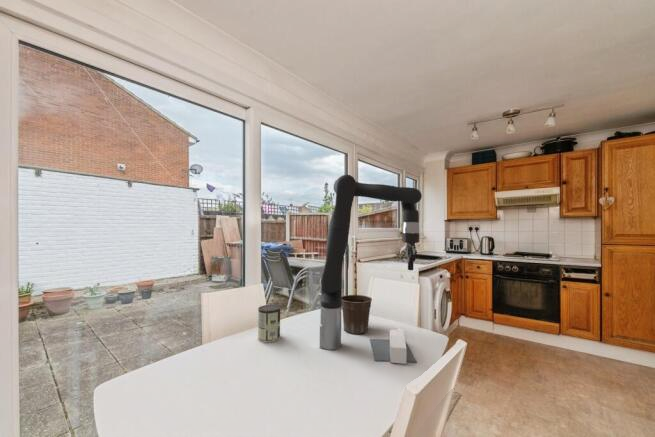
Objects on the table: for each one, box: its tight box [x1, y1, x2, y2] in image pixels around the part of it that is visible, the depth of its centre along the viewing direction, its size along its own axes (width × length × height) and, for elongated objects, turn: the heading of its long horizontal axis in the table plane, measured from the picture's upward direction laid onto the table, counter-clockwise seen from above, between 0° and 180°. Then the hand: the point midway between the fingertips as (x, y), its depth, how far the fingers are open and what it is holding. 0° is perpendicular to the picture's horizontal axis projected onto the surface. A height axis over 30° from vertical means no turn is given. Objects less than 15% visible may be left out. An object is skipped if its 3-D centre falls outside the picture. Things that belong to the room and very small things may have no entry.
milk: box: [389, 328, 407, 365], centre depth 119 cm, size 6×6×22 cm
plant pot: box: [341, 294, 373, 335], centre depth 144 cm, size 16×16×16 cm
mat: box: [369, 338, 418, 364], centre depth 120 cm, size 16×21×1 cm
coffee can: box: [257, 304, 281, 343], centre depth 132 cm, size 10×10×14 cm
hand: (410, 270), depth 129 cm, fingers closed
